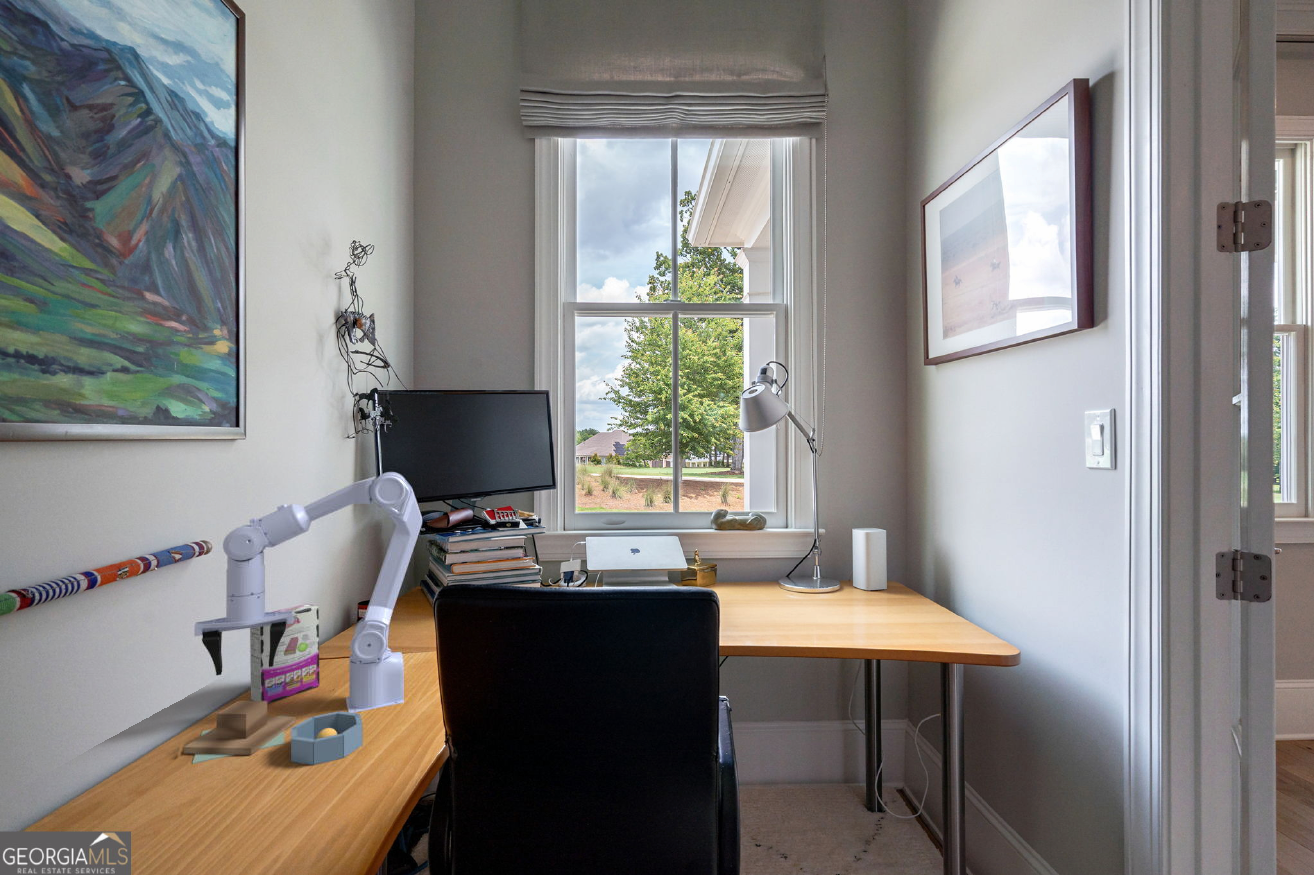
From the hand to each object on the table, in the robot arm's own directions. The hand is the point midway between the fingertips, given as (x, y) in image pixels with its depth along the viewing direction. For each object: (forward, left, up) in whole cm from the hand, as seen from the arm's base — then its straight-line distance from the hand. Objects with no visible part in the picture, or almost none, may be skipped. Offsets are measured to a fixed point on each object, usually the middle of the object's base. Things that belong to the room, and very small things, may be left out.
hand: (245, 669), depth 109 cm
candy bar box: (-6, -11, -10) cm, 16 cm away
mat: (0, +8, -9) cm, 12 cm away
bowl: (-12, +19, -9) cm, 24 cm away
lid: (0, +8, -9) cm, 12 cm away
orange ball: (-12, +19, -9) cm, 24 cm away
